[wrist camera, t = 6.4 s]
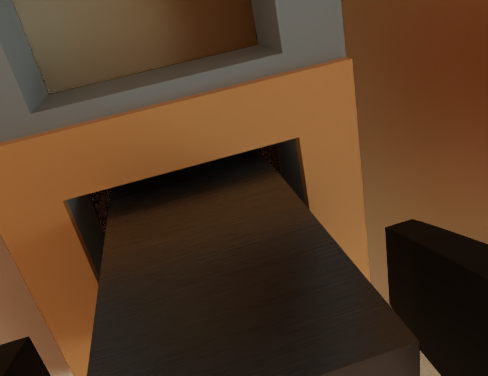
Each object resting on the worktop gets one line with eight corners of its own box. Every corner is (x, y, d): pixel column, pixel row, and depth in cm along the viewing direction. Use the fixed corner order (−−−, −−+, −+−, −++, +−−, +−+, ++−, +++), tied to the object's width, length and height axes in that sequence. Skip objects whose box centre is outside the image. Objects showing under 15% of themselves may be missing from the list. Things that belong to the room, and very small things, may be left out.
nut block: (245, 133, 12) (419, 341, 5) (267, 243, 13) (421, 526, 6) (113, 167, 11) (76, 457, 4) (152, 277, 13) (173, 627, 6)
